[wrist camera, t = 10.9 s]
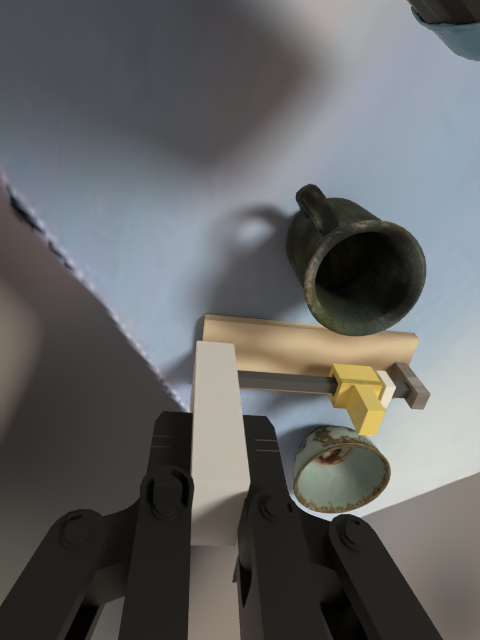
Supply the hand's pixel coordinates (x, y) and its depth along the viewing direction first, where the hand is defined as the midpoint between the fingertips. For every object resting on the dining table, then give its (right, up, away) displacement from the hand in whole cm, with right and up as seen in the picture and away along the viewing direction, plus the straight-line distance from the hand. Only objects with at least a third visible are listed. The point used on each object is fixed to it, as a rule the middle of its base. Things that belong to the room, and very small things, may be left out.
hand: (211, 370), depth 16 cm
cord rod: (+10, -5, +32) cm, 34 cm away
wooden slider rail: (+10, -3, +36) cm, 38 cm away
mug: (+10, +12, +28) cm, 32 cm away
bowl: (+15, -16, +44) cm, 49 cm away
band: (+19, -6, +33) cm, 39 cm away
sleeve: (+15, -5, +33) cm, 37 cm away
